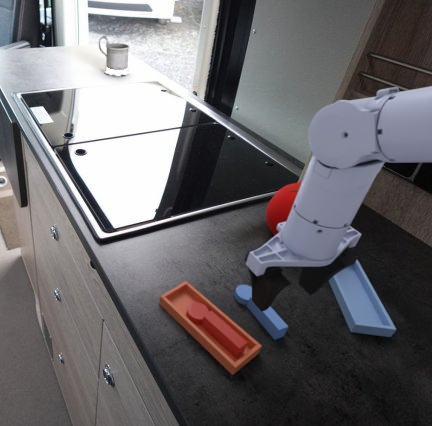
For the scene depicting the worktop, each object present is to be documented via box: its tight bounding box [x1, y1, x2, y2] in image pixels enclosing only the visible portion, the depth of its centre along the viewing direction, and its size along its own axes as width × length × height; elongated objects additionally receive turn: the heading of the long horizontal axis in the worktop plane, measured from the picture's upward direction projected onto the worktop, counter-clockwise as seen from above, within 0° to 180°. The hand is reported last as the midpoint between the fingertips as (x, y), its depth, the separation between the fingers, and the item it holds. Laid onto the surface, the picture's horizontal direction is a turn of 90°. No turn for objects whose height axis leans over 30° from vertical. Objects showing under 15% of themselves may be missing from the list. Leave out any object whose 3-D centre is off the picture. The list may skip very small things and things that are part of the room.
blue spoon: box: [233, 284, 289, 341], centre depth 53 cm, size 9×3×2 cm, turn 21°
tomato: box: [265, 180, 302, 236], centre depth 64 cm, size 11×12×10 cm
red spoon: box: [186, 302, 248, 358], centre depth 50 cm, size 9×3×2 cm, turn 36°
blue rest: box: [327, 259, 397, 338], centre depth 56 cm, size 14×5×2 cm, turn 172°
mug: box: [98, 35, 130, 70], centre depth 142 cm, size 14×10×12 cm
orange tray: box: [158, 280, 263, 376], centre depth 51 cm, size 14×5×2 cm, turn 36°
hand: (282, 296), depth 48 cm, fingers open, 7 cm apart
